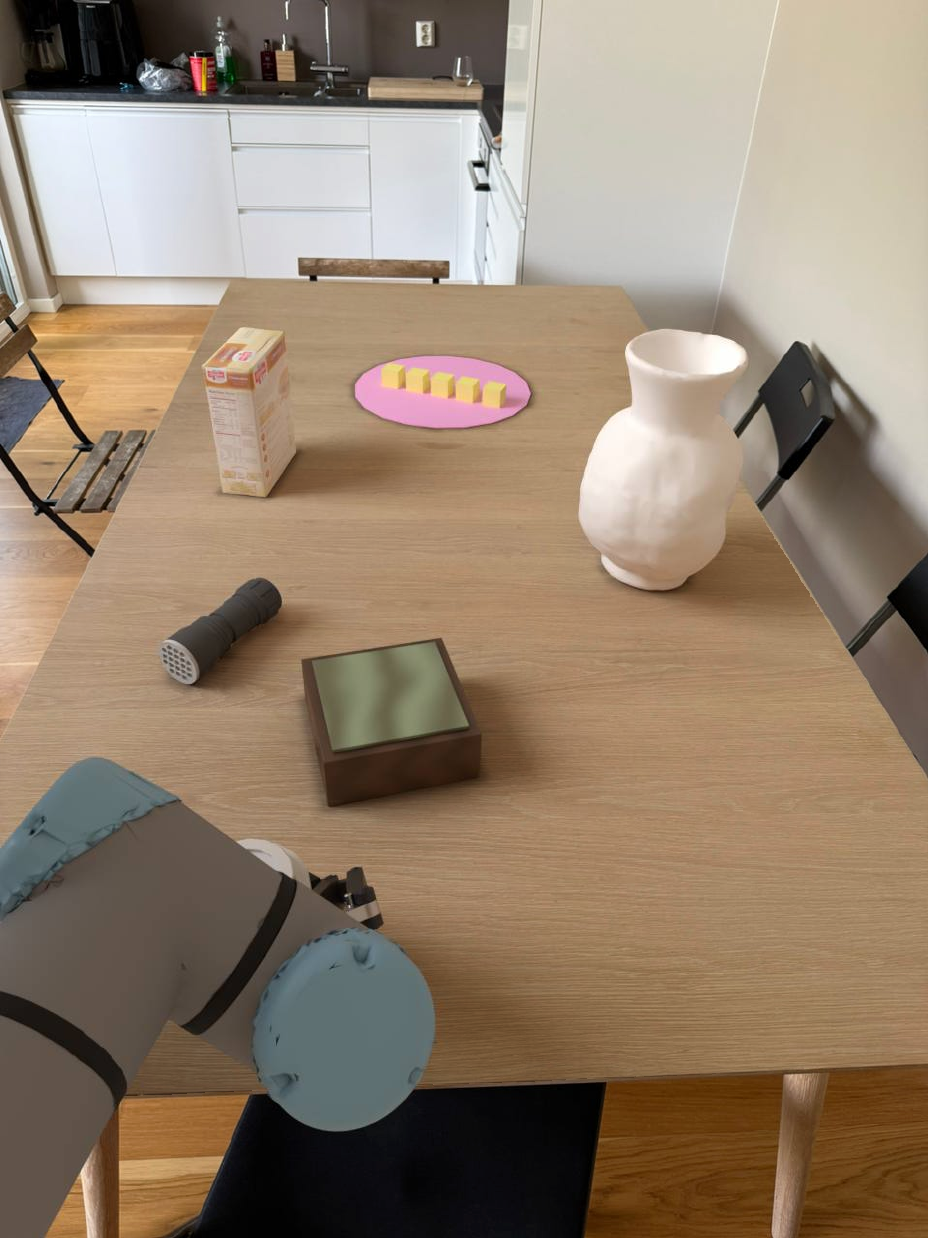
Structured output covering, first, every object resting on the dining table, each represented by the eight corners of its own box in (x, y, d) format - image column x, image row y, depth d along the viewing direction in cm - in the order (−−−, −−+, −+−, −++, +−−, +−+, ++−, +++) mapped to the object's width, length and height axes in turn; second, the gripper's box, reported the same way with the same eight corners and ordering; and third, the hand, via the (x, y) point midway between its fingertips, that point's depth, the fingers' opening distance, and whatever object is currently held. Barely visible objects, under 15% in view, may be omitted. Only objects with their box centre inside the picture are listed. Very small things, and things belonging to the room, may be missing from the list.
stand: (327, 807, 84) (323, 760, 80) (305, 701, 95) (300, 656, 91) (479, 777, 88) (482, 731, 84) (440, 679, 99) (441, 634, 95)
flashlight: (253, 603, 109) (247, 566, 106) (288, 617, 107) (284, 580, 104) (162, 673, 98) (153, 635, 95) (199, 690, 96) (192, 652, 93)
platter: (496, 442, 145) (497, 423, 143) (322, 407, 154) (320, 389, 152) (552, 373, 169) (554, 356, 167) (399, 346, 178) (398, 329, 176)
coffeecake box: (255, 447, 141) (239, 325, 130) (298, 452, 141) (286, 329, 129) (219, 493, 130) (199, 364, 118) (266, 498, 129) (251, 369, 117)
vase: (556, 600, 111) (583, 370, 93) (590, 517, 127) (619, 307, 109) (707, 632, 107) (766, 397, 89) (722, 542, 123) (775, 327, 105)
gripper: (106, 1124, 45) (114, 1015, 66) (486, 954, 53) (386, 904, 74) (67, 979, 46) (87, 916, 66) (449, 832, 54) (360, 817, 75)
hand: (245, 910), depth 70 cm, fingers closed on coffee cup, 9 cm apart
